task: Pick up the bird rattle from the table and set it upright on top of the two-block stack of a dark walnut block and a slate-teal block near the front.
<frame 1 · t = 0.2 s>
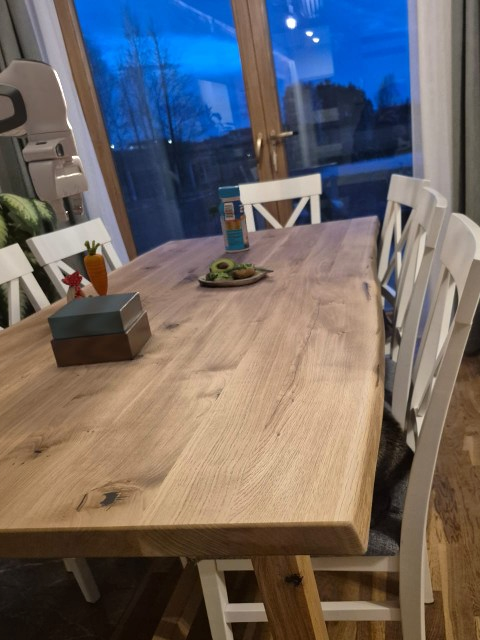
hand: (72, 218, 125), 22 cm above the table, tool pointing down, fingers open, 8 cm apart
block stack: (107, 349, 111), on the table
bird rattle: (85, 318, 134), on the table
carrot: (104, 299, 150), on the table
salad plate: (233, 280, 154), on the table
blue canister: (237, 251, 192), on the table
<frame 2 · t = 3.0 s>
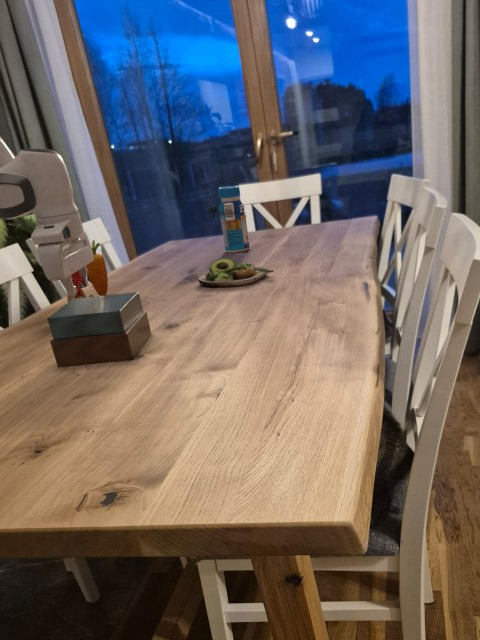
hand: (78, 290, 131), 6 cm above the table, tool pointing down, fingers closed on bird rattle, 6 cm apart
bird rattle: (86, 318, 134), on the table, touching gripper
everything else where it was.
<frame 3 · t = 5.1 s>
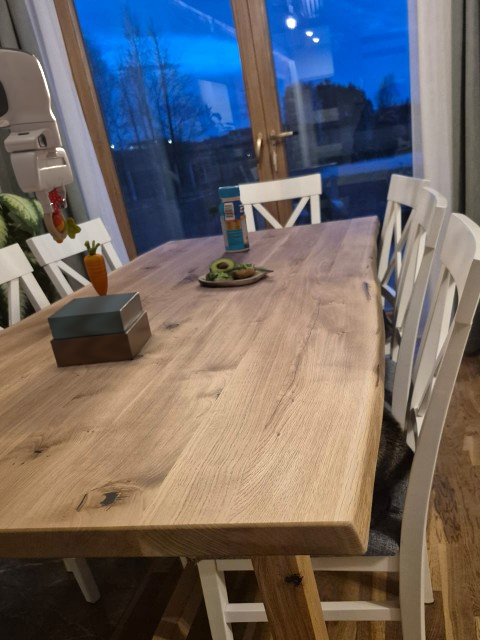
hand: (56, 210, 123), 24 cm above the table, tool pointing down, fingers closed on bird rattle, 6 cm apart
bird rattle: (64, 242, 126), point 17 cm above the table, touching gripper
everything else where it was.
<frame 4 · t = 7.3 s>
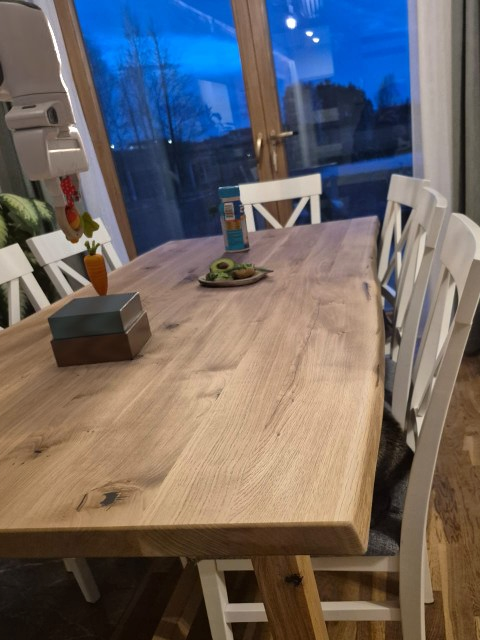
hand: (69, 204, 101), 27 cm above the table, tool pointing down, fingers closed on bird rattle, 6 cm apart
bird rattle: (79, 242, 104), point 20 cm above the table, touching gripper
everything else where it was.
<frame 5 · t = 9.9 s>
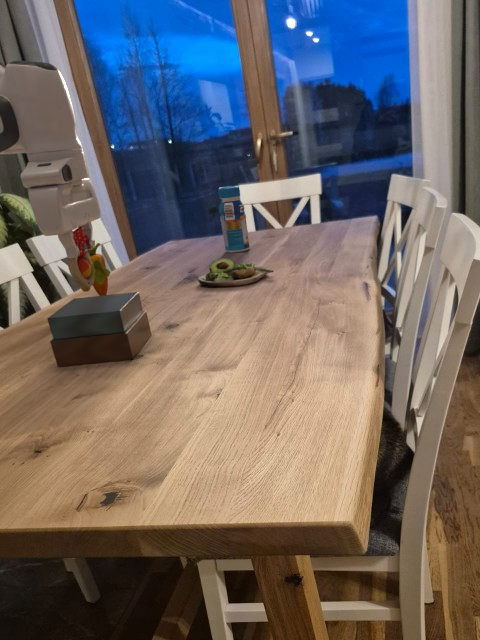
hand: (81, 253, 103), 18 cm above the table, tool pointing down, fingers closed on bird rattle, 6 cm apart
bird rattle: (90, 289, 106), point 12 cm above the table, touching gripper
everything else where it was.
when the fingers open (15 cm above the table, at t = 11.6 s): bird rattle stays where it is, resting on block stack.
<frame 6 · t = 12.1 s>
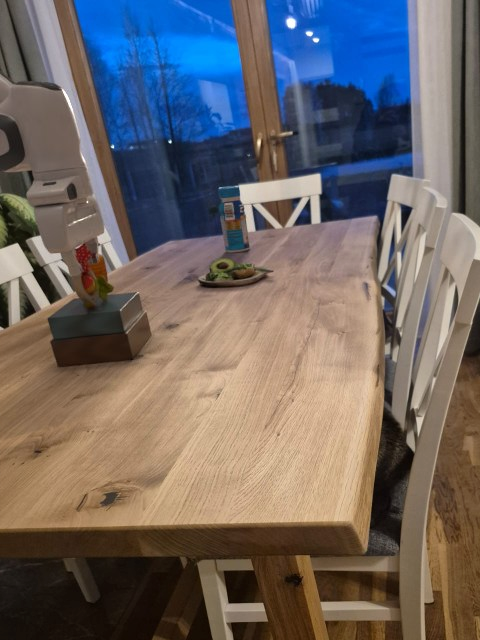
hand: (86, 268, 104), 16 cm above the table, tool pointing down, fingers open, 8 cm apart
bird rattle: (94, 304, 108), point 9 cm above the table, touching block stack
everything else where it was.
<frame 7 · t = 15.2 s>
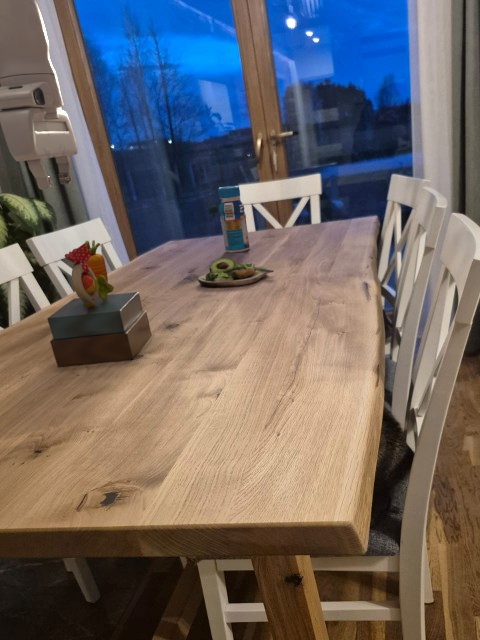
hand: (56, 186, 101), 30 cm above the table, tool pointing down, fingers open, 8 cm apart
nothing on the table moved.
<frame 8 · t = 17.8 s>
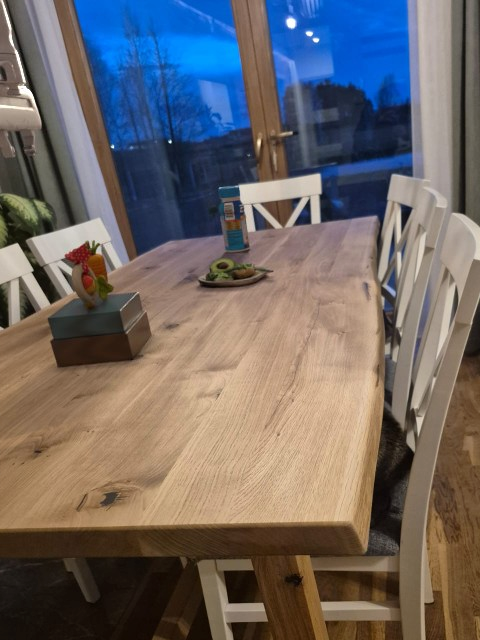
hand: (21, 156, 113), 35 cm above the table, tool pointing down, fingers open, 8 cm apart
nothing on the table moved.
at the end: bird rattle inside the target area on the block stack (0.5 cm from its centre), point 8.8 cm above the block stack's base; bird rattle tilted 0°; the gripper is holding nothing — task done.
